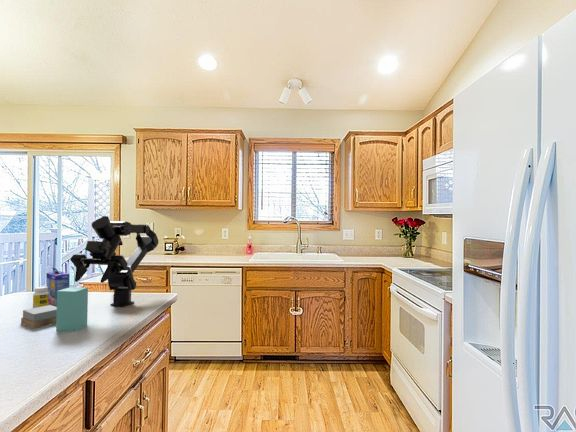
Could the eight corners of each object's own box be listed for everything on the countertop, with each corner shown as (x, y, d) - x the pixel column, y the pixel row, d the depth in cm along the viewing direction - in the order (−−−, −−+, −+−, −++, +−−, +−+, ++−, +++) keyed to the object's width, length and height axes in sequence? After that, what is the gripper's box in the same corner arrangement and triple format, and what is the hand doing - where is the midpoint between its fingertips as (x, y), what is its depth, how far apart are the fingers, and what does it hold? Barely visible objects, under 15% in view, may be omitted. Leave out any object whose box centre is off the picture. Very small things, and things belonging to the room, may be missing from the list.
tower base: (51, 318, 119) (51, 311, 119) (64, 323, 114) (64, 315, 114) (21, 325, 111) (21, 317, 111) (33, 330, 107) (33, 322, 107)
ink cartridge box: (45, 301, 139) (45, 267, 139) (60, 299, 143) (61, 265, 143) (54, 305, 133) (55, 269, 133) (70, 303, 138) (70, 268, 138)
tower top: (50, 312, 118) (50, 305, 118) (61, 315, 114) (61, 308, 114) (22, 317, 111) (23, 310, 111) (33, 322, 107) (33, 314, 107)
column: (69, 324, 111) (70, 287, 111) (87, 325, 110) (87, 287, 110) (56, 330, 105) (57, 291, 105) (74, 331, 104) (75, 291, 104)
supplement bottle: (39, 311, 125) (40, 289, 125) (29, 310, 126) (30, 288, 126) (51, 308, 130) (51, 286, 130) (41, 307, 131) (41, 285, 131)
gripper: (74, 232, 121) (50, 266, 110) (124, 233, 120) (105, 268, 109) (88, 251, 129) (66, 285, 118) (134, 252, 128) (118, 287, 117)
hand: (88, 281), depth 116 cm, fingers open, 9 cm apart
